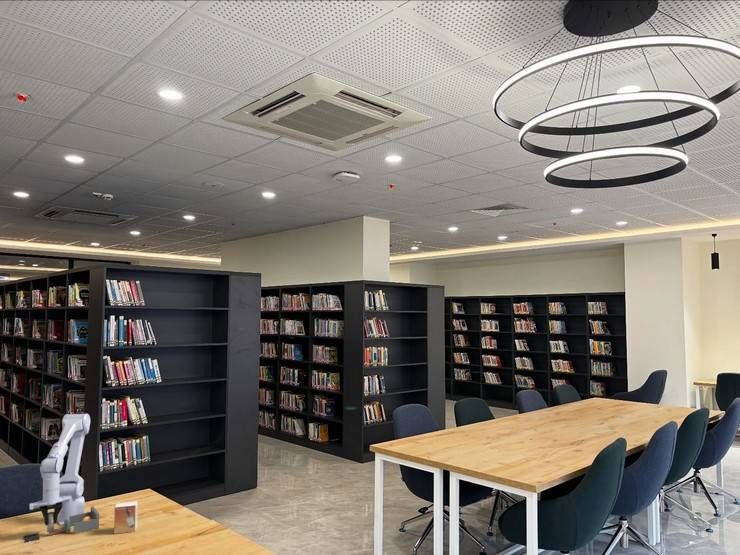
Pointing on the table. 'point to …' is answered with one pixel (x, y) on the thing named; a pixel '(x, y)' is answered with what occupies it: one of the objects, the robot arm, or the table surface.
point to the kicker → (51, 525)
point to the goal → (85, 525)
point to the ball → (86, 518)
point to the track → (31, 537)
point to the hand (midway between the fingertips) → (50, 523)
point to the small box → (125, 517)
